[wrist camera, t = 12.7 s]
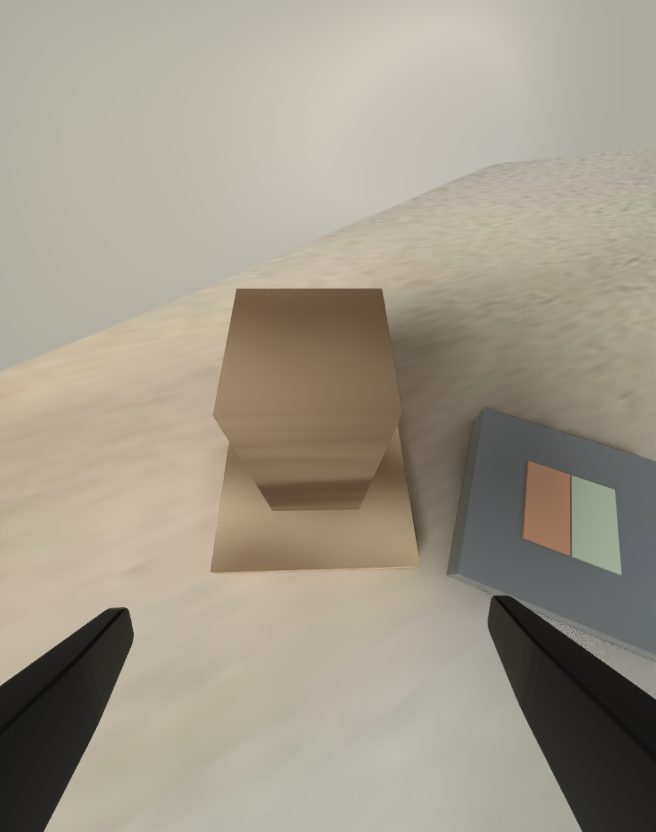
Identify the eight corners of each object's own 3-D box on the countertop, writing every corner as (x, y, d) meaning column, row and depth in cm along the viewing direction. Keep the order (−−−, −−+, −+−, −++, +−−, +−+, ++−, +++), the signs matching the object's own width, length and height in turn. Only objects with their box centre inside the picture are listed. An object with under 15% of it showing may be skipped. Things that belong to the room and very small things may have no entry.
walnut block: (358, 509, 16) (402, 413, 7) (272, 511, 16) (212, 415, 7) (353, 432, 18) (382, 288, 10) (277, 433, 18) (236, 288, 9)
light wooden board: (412, 567, 16) (420, 565, 15) (219, 573, 16) (210, 572, 14) (388, 405, 21) (392, 393, 20) (241, 407, 21) (236, 395, 19)
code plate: (661, 663, 14) (698, 671, 13) (446, 575, 16) (459, 573, 14) (638, 472, 19) (663, 462, 17) (474, 419, 21) (485, 406, 19)
